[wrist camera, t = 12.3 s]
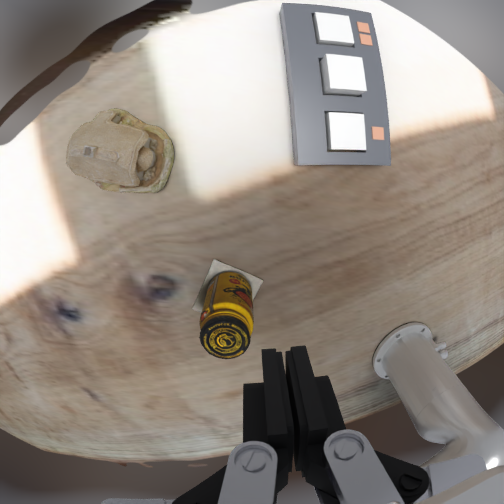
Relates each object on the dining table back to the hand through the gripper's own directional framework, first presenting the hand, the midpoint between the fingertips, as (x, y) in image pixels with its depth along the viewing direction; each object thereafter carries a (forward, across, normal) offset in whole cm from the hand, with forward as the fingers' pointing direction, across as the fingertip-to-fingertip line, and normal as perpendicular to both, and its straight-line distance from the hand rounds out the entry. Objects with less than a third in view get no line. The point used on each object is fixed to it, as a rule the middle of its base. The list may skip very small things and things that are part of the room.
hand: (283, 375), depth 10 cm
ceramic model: (+28, +16, -11) cm, 34 cm away
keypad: (+27, -11, -18) cm, 34 cm away
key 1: (+27, -11, -25) cm, 38 cm away
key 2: (+25, -11, -18) cm, 33 cm away
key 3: (+27, -11, -11) cm, 31 cm away
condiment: (+27, +5, +10) cm, 30 cm away
